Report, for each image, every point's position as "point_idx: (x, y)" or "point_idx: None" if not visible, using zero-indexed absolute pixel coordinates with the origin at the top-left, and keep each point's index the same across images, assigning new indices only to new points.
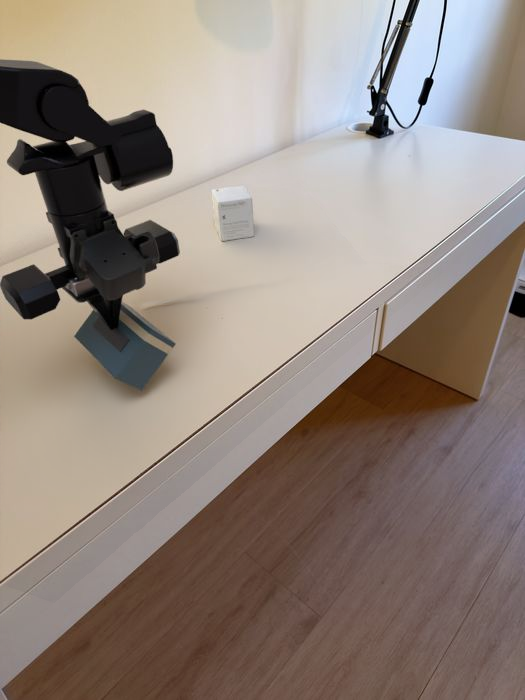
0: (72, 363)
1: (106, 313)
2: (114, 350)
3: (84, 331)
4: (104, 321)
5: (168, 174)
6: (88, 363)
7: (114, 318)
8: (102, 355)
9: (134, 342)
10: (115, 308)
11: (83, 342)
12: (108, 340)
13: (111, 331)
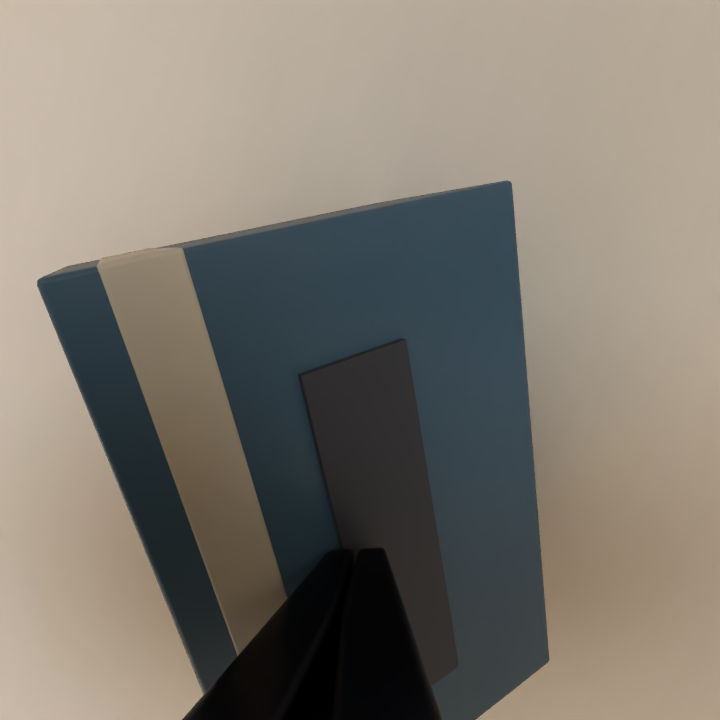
0: (566, 545)
1: (369, 706)
2: (428, 390)
3: (502, 657)
4: (410, 634)
5: None
6: None
7: (319, 617)
8: (499, 424)
9: (272, 309)
10: (250, 717)
11: (533, 593)
12: (428, 494)
13: (383, 547)
